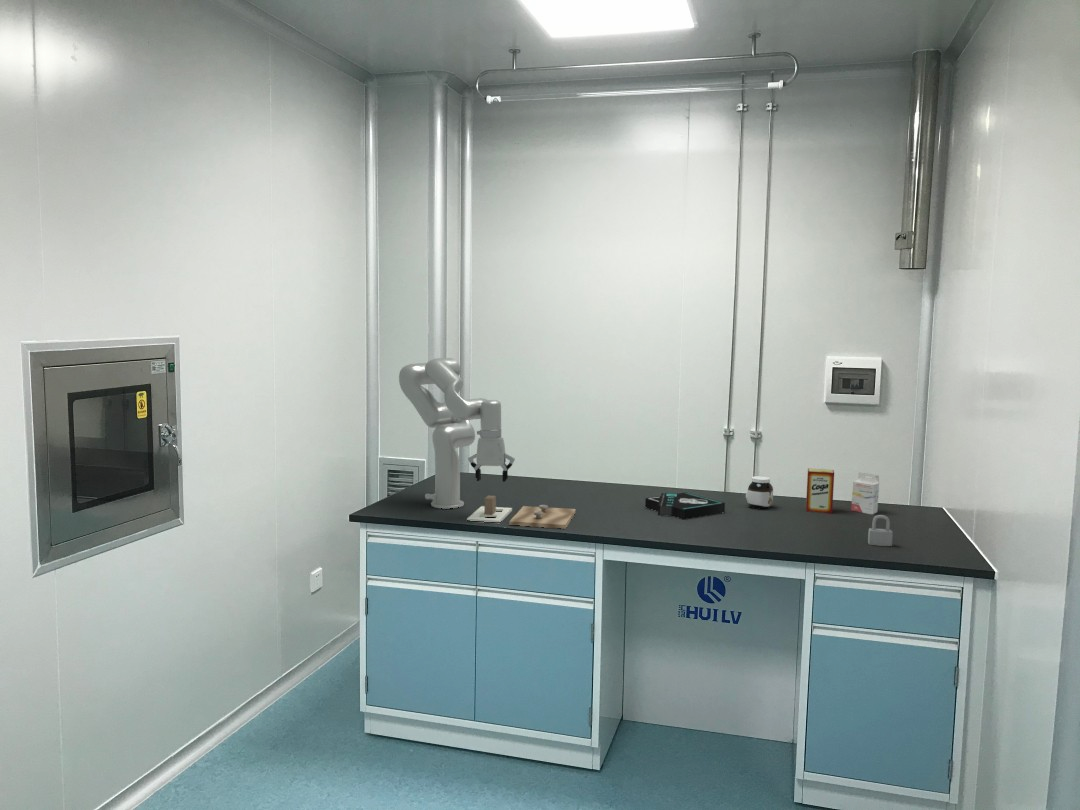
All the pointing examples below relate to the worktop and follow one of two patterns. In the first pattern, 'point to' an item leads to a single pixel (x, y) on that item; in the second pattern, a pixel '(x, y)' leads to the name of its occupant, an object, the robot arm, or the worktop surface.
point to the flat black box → (684, 505)
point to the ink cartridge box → (865, 493)
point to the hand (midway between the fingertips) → (491, 480)
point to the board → (543, 517)
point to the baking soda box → (820, 490)
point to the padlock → (880, 533)
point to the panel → (482, 517)
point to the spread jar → (760, 492)
